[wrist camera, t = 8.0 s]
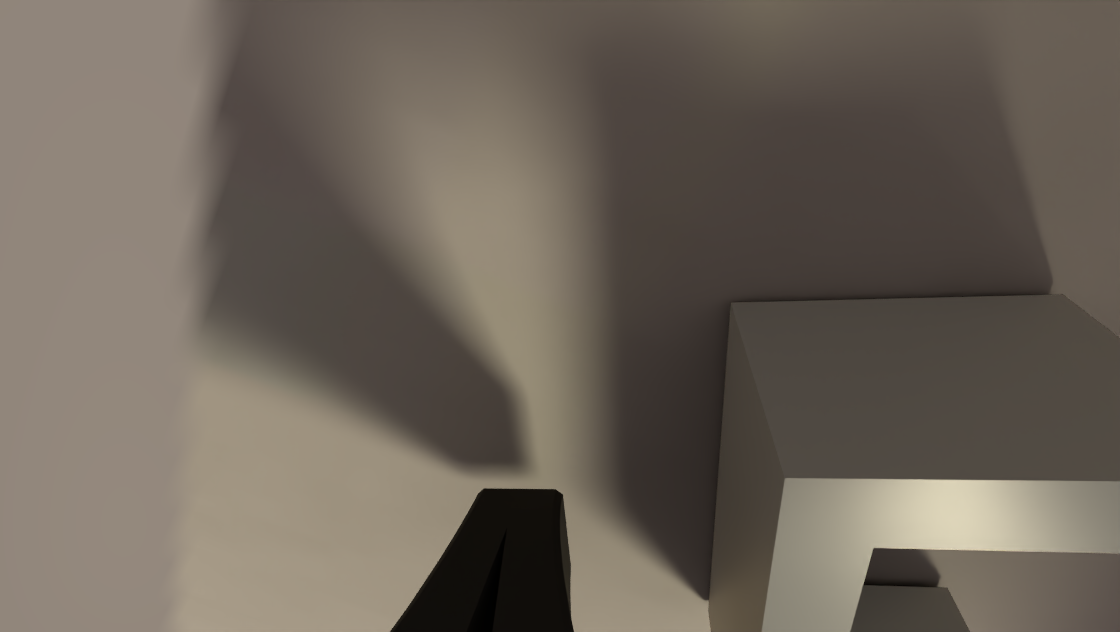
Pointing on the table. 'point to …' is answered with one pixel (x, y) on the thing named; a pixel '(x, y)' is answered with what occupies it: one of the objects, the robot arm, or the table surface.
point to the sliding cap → (905, 451)
